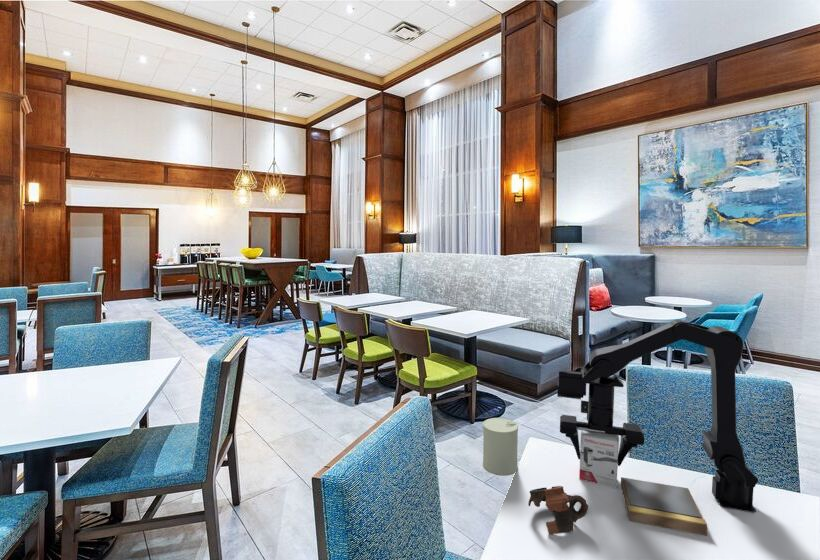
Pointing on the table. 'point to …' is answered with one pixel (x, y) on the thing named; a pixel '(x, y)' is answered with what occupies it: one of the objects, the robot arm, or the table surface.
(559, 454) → the table surface
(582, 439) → the ink box
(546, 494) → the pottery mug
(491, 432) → the can
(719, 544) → the table surface
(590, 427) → the robot arm
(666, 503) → the framed panel
